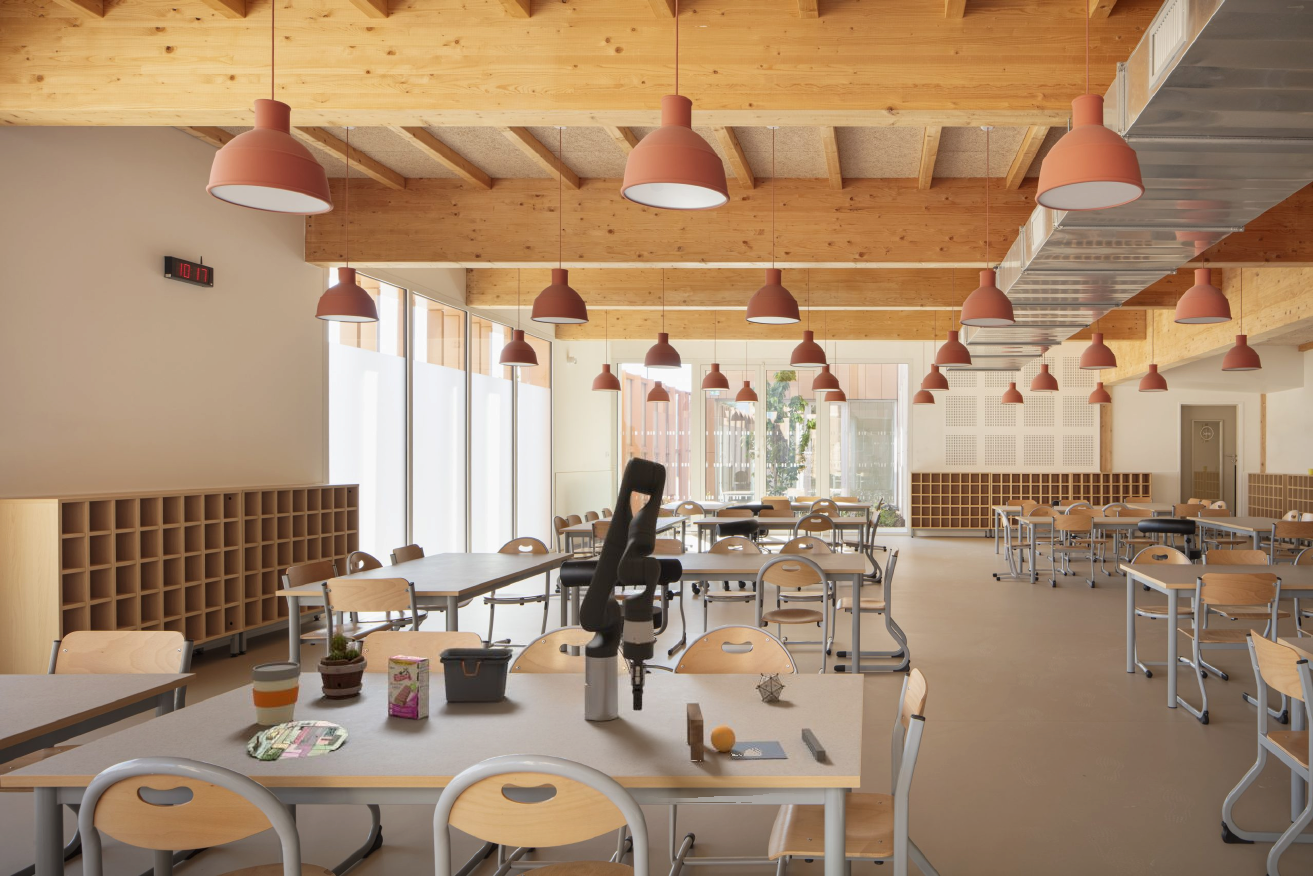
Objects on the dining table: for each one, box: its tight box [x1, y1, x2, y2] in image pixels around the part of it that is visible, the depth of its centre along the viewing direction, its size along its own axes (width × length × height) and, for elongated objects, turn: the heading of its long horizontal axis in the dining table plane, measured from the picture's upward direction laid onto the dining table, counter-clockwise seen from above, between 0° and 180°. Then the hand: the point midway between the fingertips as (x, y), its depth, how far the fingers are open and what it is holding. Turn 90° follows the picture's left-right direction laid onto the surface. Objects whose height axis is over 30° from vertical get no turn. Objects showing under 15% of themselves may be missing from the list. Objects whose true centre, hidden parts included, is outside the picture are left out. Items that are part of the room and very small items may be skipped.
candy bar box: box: [387, 654, 430, 720], centre depth 244 cm, size 11×5×16 cm, turn 65°
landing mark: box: [729, 740, 788, 760], centre depth 210 cm, size 13×13×1 cm
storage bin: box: [438, 647, 514, 703], centre depth 261 cm, size 21×16×14 cm
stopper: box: [801, 728, 826, 762], centre depth 210 cm, size 2×18×2 cm, turn 2°
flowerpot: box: [316, 631, 368, 700], centre depth 268 cm, size 14×15×20 cm
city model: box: [247, 720, 349, 761], centre depth 216 cm, size 25×24×6 cm
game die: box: [755, 672, 786, 702], centre depth 257 cm, size 9×8×10 cm
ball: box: [710, 725, 736, 753], centre depth 210 cm, size 6×6×6 cm
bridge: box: [686, 702, 705, 762], centre depth 210 cm, size 3×15×10 cm, turn 2°
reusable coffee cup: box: [251, 661, 302, 726], centre depth 240 cm, size 12×12×15 cm
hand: (637, 709), depth 210 cm, fingers closed
